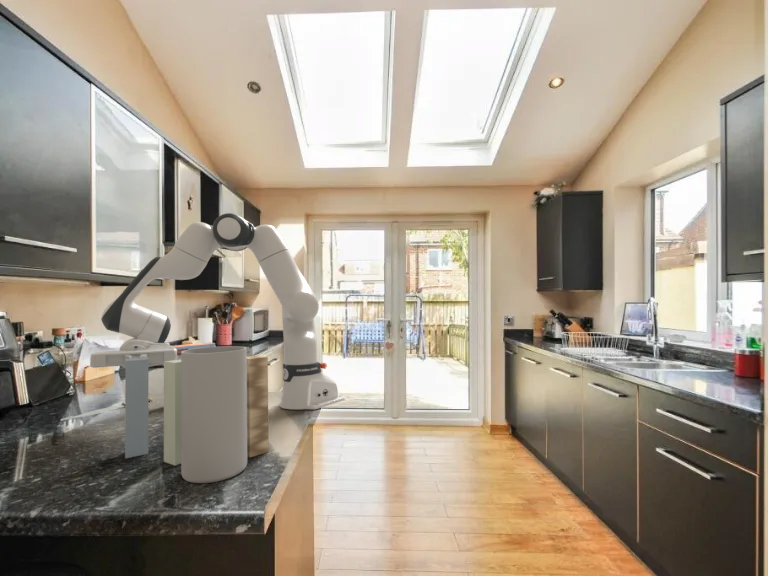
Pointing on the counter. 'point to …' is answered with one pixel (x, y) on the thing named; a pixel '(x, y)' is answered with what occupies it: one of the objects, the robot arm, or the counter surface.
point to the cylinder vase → (213, 413)
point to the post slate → (136, 407)
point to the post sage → (172, 412)
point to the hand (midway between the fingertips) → (135, 360)
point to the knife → (103, 410)
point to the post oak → (257, 405)
